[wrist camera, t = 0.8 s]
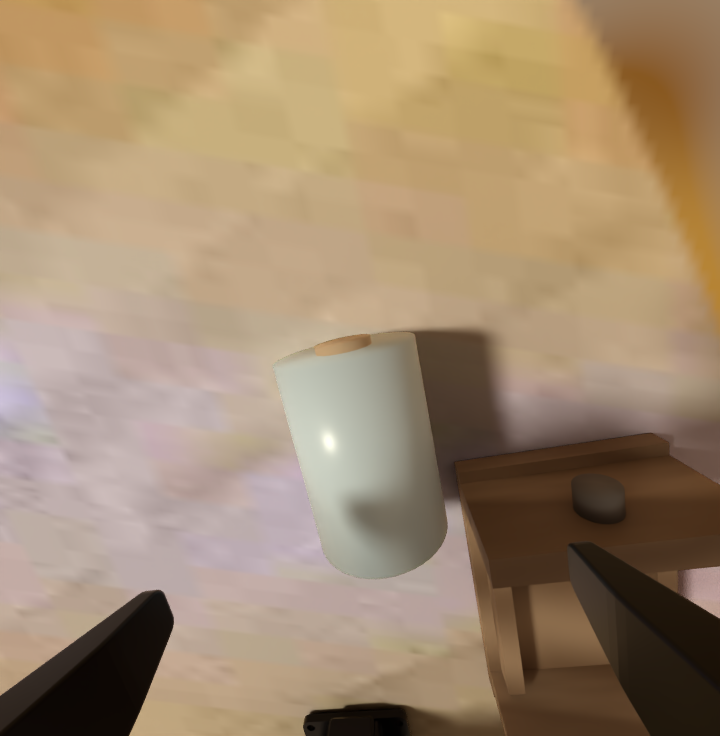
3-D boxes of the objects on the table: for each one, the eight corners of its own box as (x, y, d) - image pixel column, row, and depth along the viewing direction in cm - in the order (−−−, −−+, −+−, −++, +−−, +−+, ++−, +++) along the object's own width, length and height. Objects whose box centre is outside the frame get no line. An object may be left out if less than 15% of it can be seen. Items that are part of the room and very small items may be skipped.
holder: (656, 670, 18) (765, 826, 13) (489, 682, 20) (528, 830, 14) (651, 424, 15) (792, 497, 10) (452, 454, 16) (484, 534, 11)
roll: (443, 488, 17) (455, 583, 12) (338, 497, 18) (306, 587, 13) (413, 319, 15) (413, 339, 10) (299, 341, 16) (242, 370, 11)
